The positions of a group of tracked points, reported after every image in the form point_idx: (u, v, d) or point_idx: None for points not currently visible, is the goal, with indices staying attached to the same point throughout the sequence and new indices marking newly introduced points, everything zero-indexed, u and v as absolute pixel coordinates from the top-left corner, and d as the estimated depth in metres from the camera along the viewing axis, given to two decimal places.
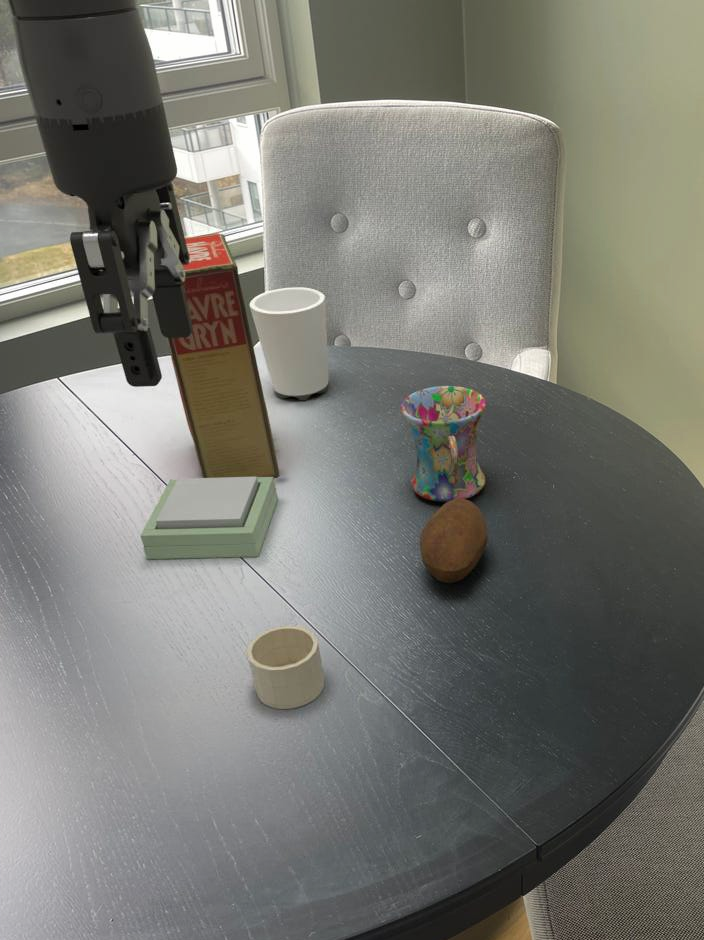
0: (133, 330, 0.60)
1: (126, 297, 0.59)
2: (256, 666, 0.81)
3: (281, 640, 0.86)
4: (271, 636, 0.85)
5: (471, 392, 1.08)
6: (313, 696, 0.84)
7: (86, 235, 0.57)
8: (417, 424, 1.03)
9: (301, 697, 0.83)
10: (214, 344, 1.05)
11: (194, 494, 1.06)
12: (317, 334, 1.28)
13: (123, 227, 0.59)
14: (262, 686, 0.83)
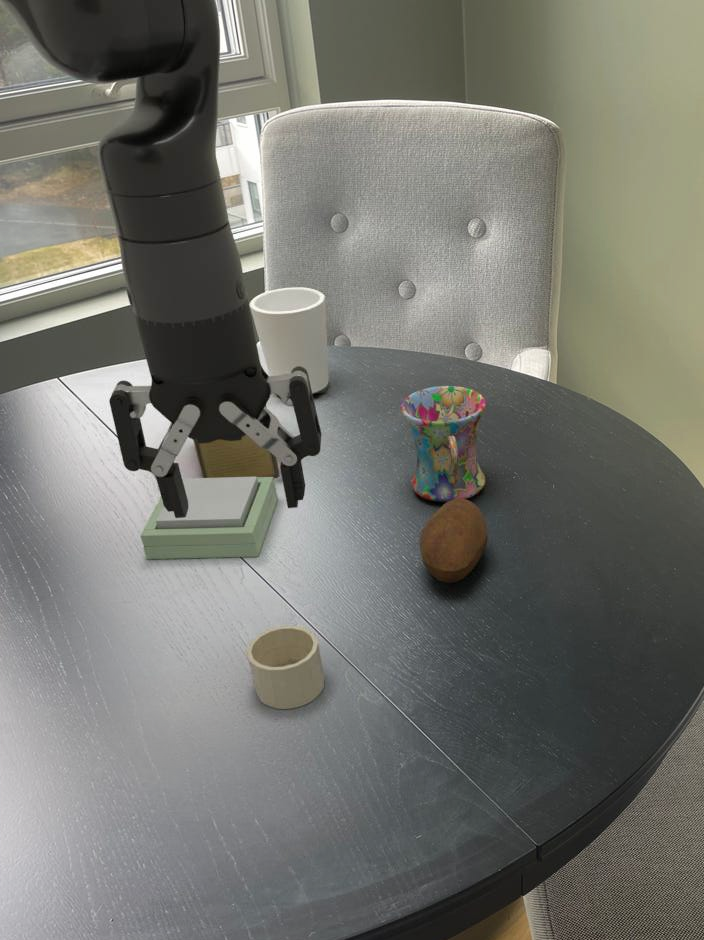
0: (128, 468, 0.71)
1: (125, 444, 0.69)
2: (256, 666, 0.81)
3: (281, 640, 0.86)
4: (271, 636, 0.85)
5: (471, 392, 1.08)
6: (313, 696, 0.84)
7: (115, 387, 0.68)
8: (417, 424, 1.03)
9: (301, 697, 0.83)
10: None
11: (194, 494, 1.06)
12: (317, 334, 1.28)
13: (154, 397, 0.68)
14: (262, 686, 0.83)
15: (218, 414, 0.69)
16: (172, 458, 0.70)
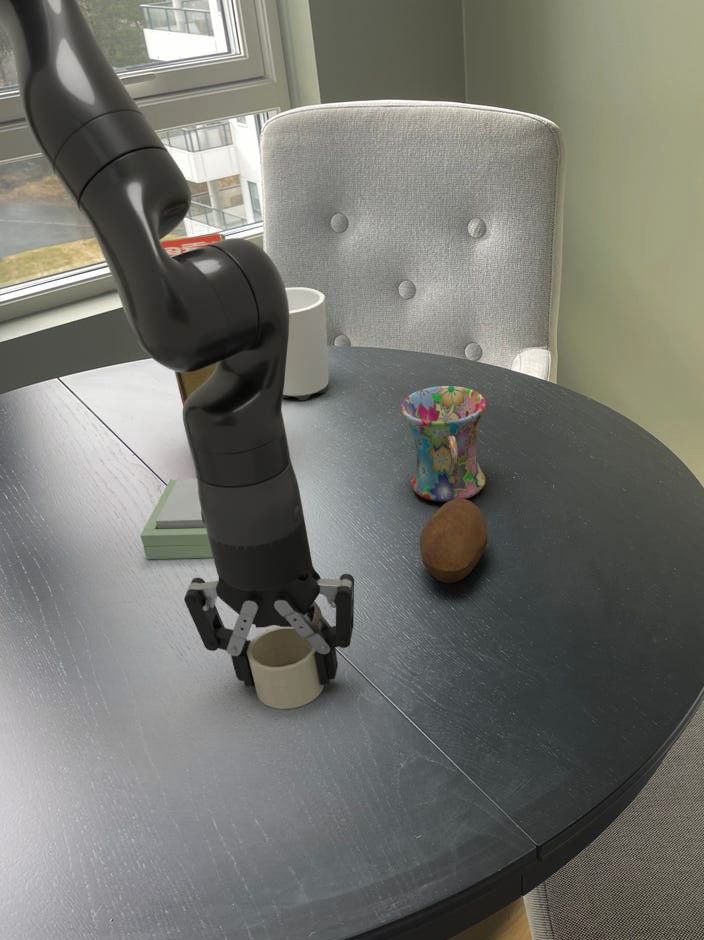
0: (208, 649, 0.82)
1: (202, 631, 0.81)
2: (256, 666, 0.81)
3: (281, 640, 0.86)
4: (271, 636, 0.85)
5: (471, 392, 1.08)
6: (313, 696, 0.84)
7: (189, 586, 0.80)
8: (417, 424, 1.03)
9: (300, 697, 0.83)
10: None
11: (194, 494, 1.06)
12: (317, 334, 1.28)
13: (220, 591, 0.78)
14: (262, 686, 0.83)
15: (274, 606, 0.79)
16: (242, 641, 0.81)
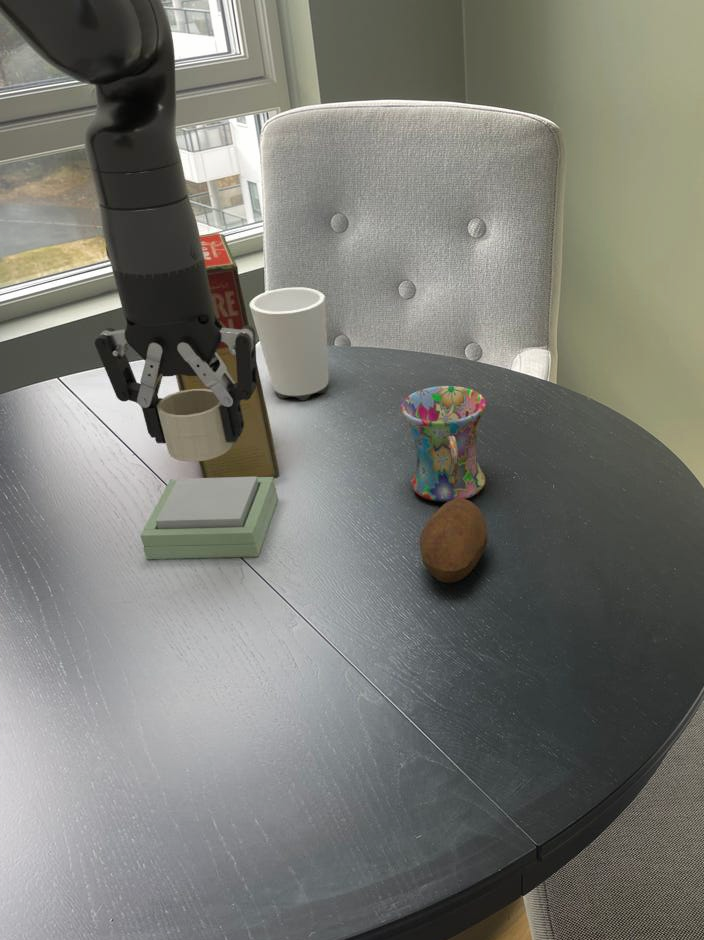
0: (120, 399, 0.88)
1: (113, 379, 0.86)
2: (164, 414, 0.87)
3: (192, 403, 0.92)
4: (182, 397, 0.91)
5: (471, 392, 1.08)
6: (219, 452, 0.90)
7: (101, 333, 0.85)
8: (417, 424, 1.03)
9: (206, 450, 0.89)
10: None
11: (194, 494, 1.06)
12: (317, 334, 1.28)
13: (128, 335, 0.84)
14: (170, 437, 0.88)
15: (178, 352, 0.85)
16: (151, 391, 0.87)
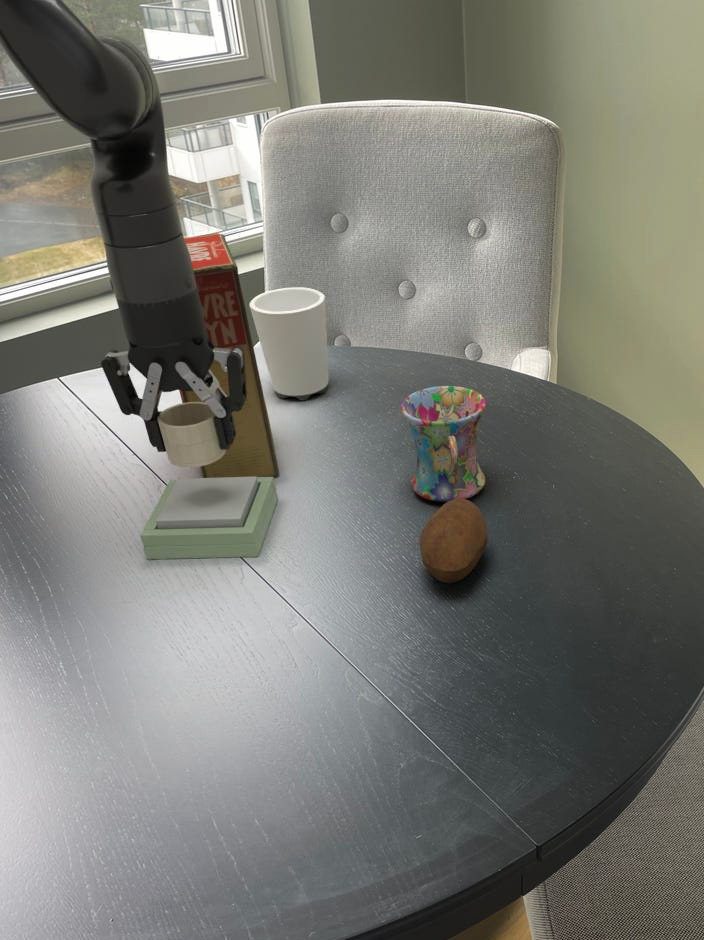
0: (124, 413, 0.98)
1: (118, 395, 0.97)
2: (164, 426, 0.97)
3: (189, 415, 1.02)
4: (180, 410, 1.01)
5: (471, 392, 1.08)
6: (215, 458, 1.00)
7: (106, 355, 0.96)
8: (417, 424, 1.03)
9: (203, 456, 0.99)
10: (214, 344, 1.05)
11: (194, 494, 1.06)
12: (317, 334, 1.28)
13: (131, 356, 0.94)
14: (170, 446, 0.99)
15: (176, 370, 0.95)
16: (152, 405, 0.97)
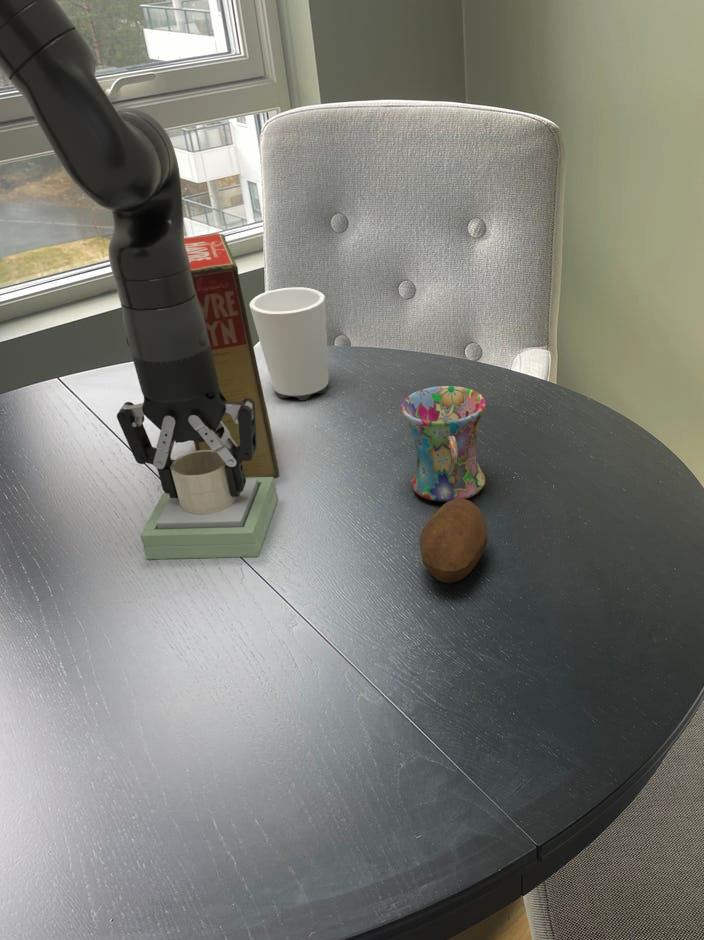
0: (138, 462, 1.01)
1: (133, 445, 1.00)
2: (177, 475, 1.01)
3: (200, 462, 1.05)
4: (192, 458, 1.05)
5: (471, 392, 1.08)
6: (225, 505, 1.04)
7: None
8: (417, 424, 1.03)
9: (214, 504, 1.03)
10: (214, 344, 1.05)
11: None
12: (317, 334, 1.28)
13: (145, 409, 0.98)
14: (182, 494, 1.02)
15: (189, 423, 0.98)
16: (165, 455, 1.01)
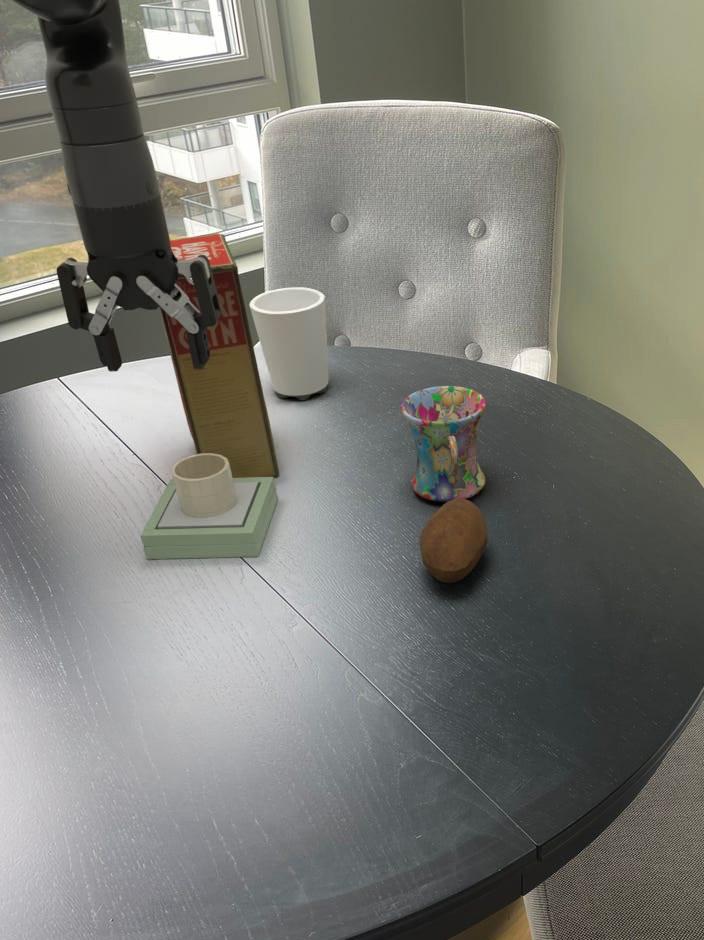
0: (71, 327, 0.93)
1: (68, 306, 0.91)
2: (177, 478, 1.01)
3: (201, 465, 1.06)
4: (192, 461, 1.05)
5: (471, 392, 1.08)
6: (226, 508, 1.04)
7: (63, 262, 0.90)
8: (417, 424, 1.03)
9: (215, 507, 1.03)
10: (214, 344, 1.05)
11: None
12: (317, 334, 1.28)
13: (90, 269, 0.89)
14: (183, 497, 1.02)
15: (138, 286, 0.90)
16: (104, 320, 0.92)
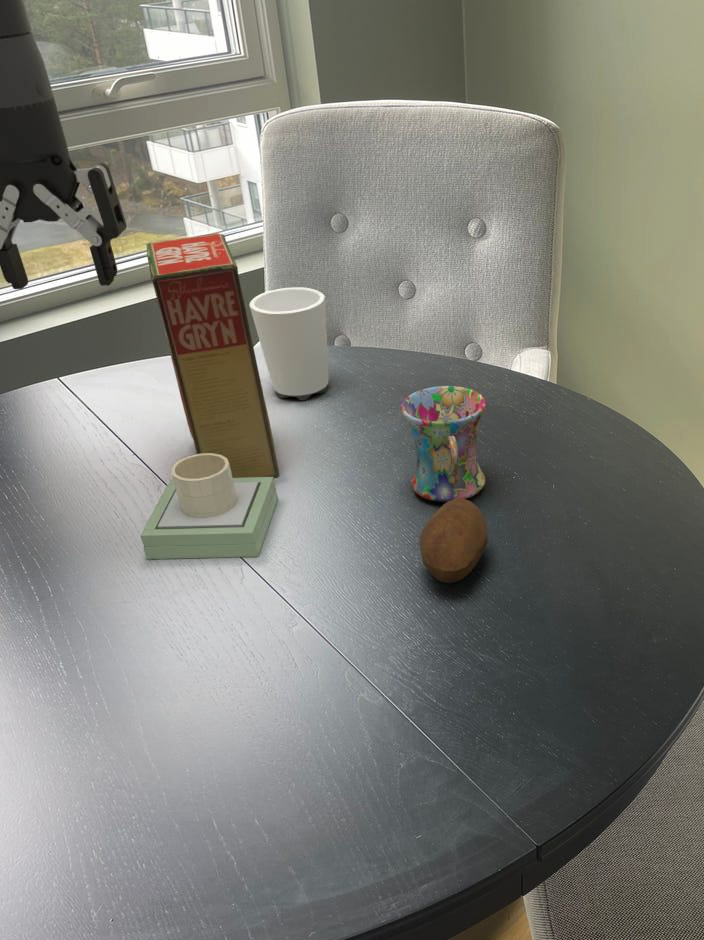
0: None
1: None
2: (177, 478, 1.01)
3: (201, 465, 1.06)
4: (192, 461, 1.05)
5: (471, 392, 1.08)
6: (226, 508, 1.04)
7: None
8: (417, 424, 1.03)
9: (215, 507, 1.03)
10: (214, 344, 1.05)
11: None
12: (317, 334, 1.28)
13: None
14: (183, 497, 1.02)
15: (36, 196, 0.88)
16: (4, 234, 0.90)
